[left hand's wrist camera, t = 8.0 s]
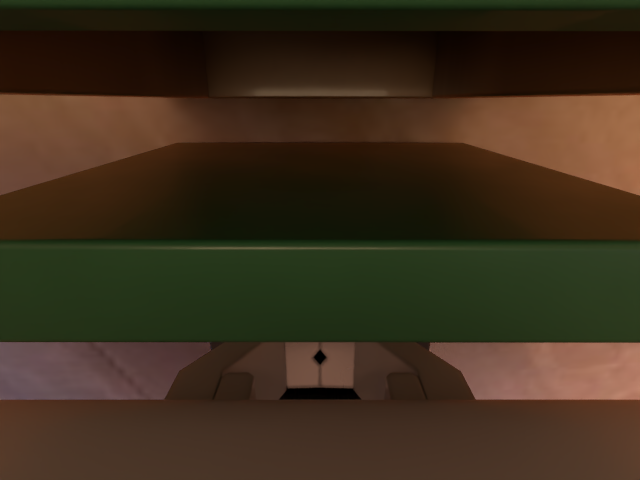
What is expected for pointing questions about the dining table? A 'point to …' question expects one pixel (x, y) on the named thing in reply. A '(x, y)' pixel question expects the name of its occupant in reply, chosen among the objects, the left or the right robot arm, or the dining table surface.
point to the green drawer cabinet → (319, 15)
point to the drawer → (320, 201)
